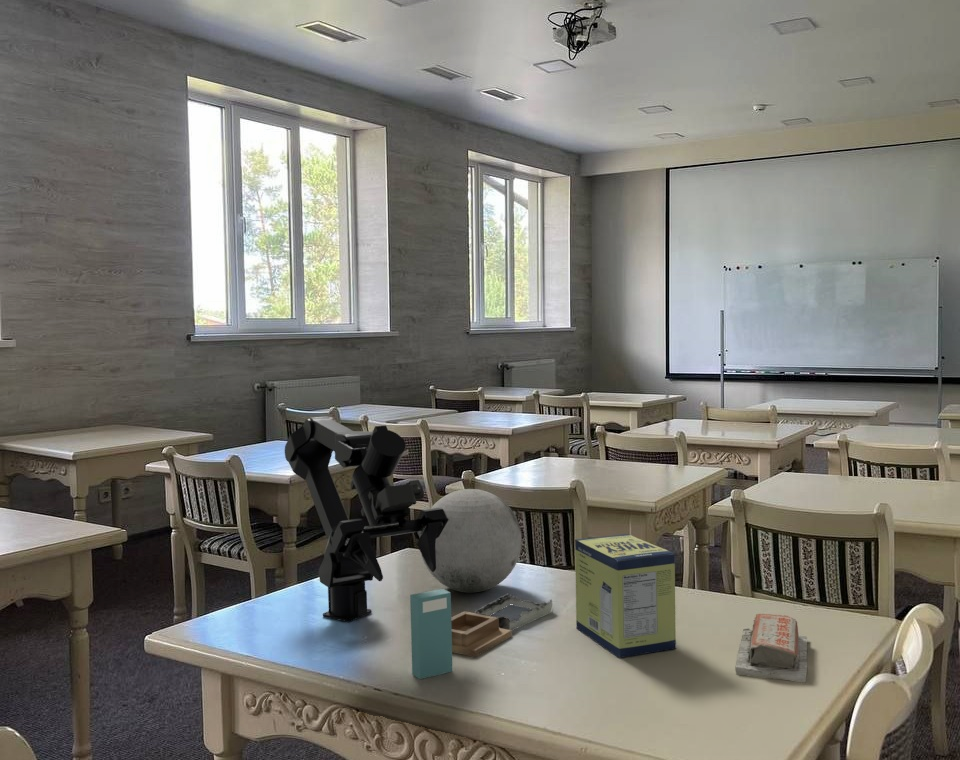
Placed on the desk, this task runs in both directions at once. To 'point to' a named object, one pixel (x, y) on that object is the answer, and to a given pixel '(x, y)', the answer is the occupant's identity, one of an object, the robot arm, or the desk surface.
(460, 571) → the moon model
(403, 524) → the robot arm
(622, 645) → the protein box
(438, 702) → the desk surface
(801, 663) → the packaged product
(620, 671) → the desk surface
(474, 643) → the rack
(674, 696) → the desk surface
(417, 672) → the teal labeled box
